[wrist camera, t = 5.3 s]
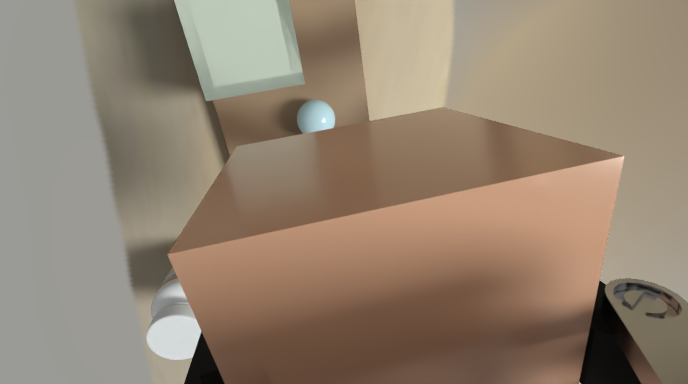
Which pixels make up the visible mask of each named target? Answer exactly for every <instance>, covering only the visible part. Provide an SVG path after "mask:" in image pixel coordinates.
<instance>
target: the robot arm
mask: <svg viewBox="0 0 688 384" xmlns="http://www.w3.org/2000/svg"><path fill="white" fill-rule="evenodd" d="M579 382H580V383H581V384H688V303H687V302H686V301H685V300H684V299H683V298H682V297H680V296H679V295H678V294H676V293H674V292H673V291H671V290H669V289H667V288H665V287H663V286H660V285H658V284H655V283H652V282H648V281H644V280H638V279H630V278H625V279H616V280H613V281H610V282H609V283H608V284H607V285H605V284H604V283H602V282H601V281H600V280H599V285H598V290H597V295H596V300H595V305H594V310H593V315H592V320H591V325H590V330H589V335H588V340H587V345H586V350H585V355H584V360H583V364H582V369H581V374H580V379H579ZM184 384H225V383H224V381H223V378H222V376H221V374H220V372H219V369H218V367H217V365H216V363H215V361H214V358H213V356H212V354H211V352H210V349H209V347H208V345H207V343H206V340H205V338H204V336H203V334H202V331H201V334H200V337H199V340H198V343H197V346H196V349H195V352H194V355H193V358H192V362H191V365H190V368H189V371H188V374H187V377H186V380H185V383H184Z"/></svg>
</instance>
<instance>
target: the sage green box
mask: <svg viewBox="0 0 688 384" xmlns="http://www.w3.org/2000/svg"><path fill="white" fill-rule="evenodd" d="M174 2H175V5H176V8H177V11H178V14H179V18H180V21H181V24H182V27H183V30H184V33H185V37H186V40H187V43H188V46H189V49H190V52H191V56H192V59H193V62H194V65H195V68H196V71H197V75H198V78H199V81H200V84H201V87H202V90H203V94H204V97H205V100H206V101H211V100H217V99H222V98H228V97H234V96H239V95H245V94H251V93H257V92H262V91H268V90H274V89H280V88H285V87H291V86H297V85H302V84H305V81H304V75H303V70H302V65H301V60H300V55H299V50H298V44H297V39H296V34H295V29H294V24H293V18H292V13H291V8H290V3H289V0H174Z"/></svg>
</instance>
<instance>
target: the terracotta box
mask: <svg viewBox="0 0 688 384" xmlns="http://www.w3.org/2000/svg"><path fill="white" fill-rule="evenodd" d="M623 160H624V156H623V155H619V154H615V153H612V152H607V151H604V150H600V149H596V148H593V147H589V146H585V145H581V144H578V143H574V142H570V141H567V140H563V139H559V138H555V137H552V136H548V135H544V134H541V133H536V132H533V131H529V130H526V129H522V128H518V127H514V126H510V125H507V124H503V123H499V122H496V121H492V120H488V119H484V118H481V117H477V116H473V115H469V114H465V113H462V112H458V111H455V110H451V109H447V108H443V107H442V108H437V109H432V110H426V111H421V112H416V113H410V114H405V115H400V116H395V117H389V118H384V119H379V120H373V121H368V122H363V123H358V124H352V125H347V126H342V127H336V128H331V129H326V130H321V131H315V132H310V133H305V134H299V135H294V136H289V137H284V138H278V139H273V140H268V141H262V142H257V143H252V144H246V145H241V146H237V147H236V148H235V150H234V151H233V153H232V154H231V156H230V158H229V159H228V161H227V162H226V164H225V165H224V167H223V169H222V170H221V172H220V173H219V175H218V176H217V178H216V179H215V181H214V183H213V184H212V186H211V187H210V189H209V190H208V192H207V193H206V195H205V197H204V198H203V200H202V201H201V203H200V204H199V206H198V207H197V209H196V211H195V212H194V214H193V215H192V217H191V218H190V220H189V222H188V223H187V225H186V226H185V228H184V229H183V231H182V232H181V234H180V236H179V237H178V239H177V240H176V242H175V243H174V245H173V246H172V248H171V250H170V251H169V253H168V254H167V255H168V257H169V259H170V262H171V264H172V266H173V268H174V271H175V273H176V275H177V277H178V280H179V282H180V284H181V286H182V289H183V291H184V293H185V295H186V298H187V300H188V302H189V304H190V307H191V309H192V311H193V313H194V316H195V318H196V320H197V322H198V325H199V327H200V329H201V331H202V334H203V336H204V338H205V340H206V343H207V345H208V347H209V349H210V352H211V354H212V356H213V358H214V361H215V363H216V365H217V367H218V369H219V372H220V374H221V376H222V378H223V381H224V383H225V384H579V379H580V374H581V369H582V364H583V360H584V355H585V350H586V345H587V340H588V335H589V330H590V325H591V320H592V315H593V310H594V305H595V300H596V295H597V290H598V285H599V280H600V275H601V270H602V265H603V260H604V255H605V250H606V245H607V240H608V235H609V230H610V225H611V220H612V215H613V210H614V205H615V200H616V195H617V190H618V185H619V180H620V176H621V171H622V165H623Z"/></svg>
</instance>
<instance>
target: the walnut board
mask: <svg viewBox="0 0 688 384" xmlns="http://www.w3.org/2000/svg"><path fill="white" fill-rule="evenodd" d="M289 3H290V8H291V13H292V18H293V24H294V29H295V34H296V39H297V44H298V50H299V55H300V60H301V65H302V70H303V75H304V81H305V84H302V85H297V86H291V87H285V88H280V89H274V90H268V91H262V92H257V93H251V94H245V95H239V96H234V97H228V98H222V99H217V100H213V103H214V106H215V109H216V112H217V116H218V119H219V122H220V125H221V129H222V132H223V135H224V138H225V142H226V145H227V148H228V151H229V155H230V156H231V154H232V153H233V151H234V150H235V148H236V147H237V146H241V145H246V144H252V143H257V142H262V141H268V140H273V139H278V138H284V137H289V136H294V135H299V134H303V133H302V132H301V131H300V129H299V127H298V124H297V114H298V111H299V109H300V107H301V106H302V105H303V104H304V103H306V102H307V101H310V100H321V101H324V102H326V103H327V104H329V105H330V107H331V108H332V109H333V111H334V114H335V125H334V128H336V127H342V126H347V125H352V124H358V123H363V122H368V121H369V114H368V106H367V98H366V90H365V81H364V73H363V65H362V57H361V49H360V41H359V33H358V25H357V17H356V8H355V0H289Z"/></svg>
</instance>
